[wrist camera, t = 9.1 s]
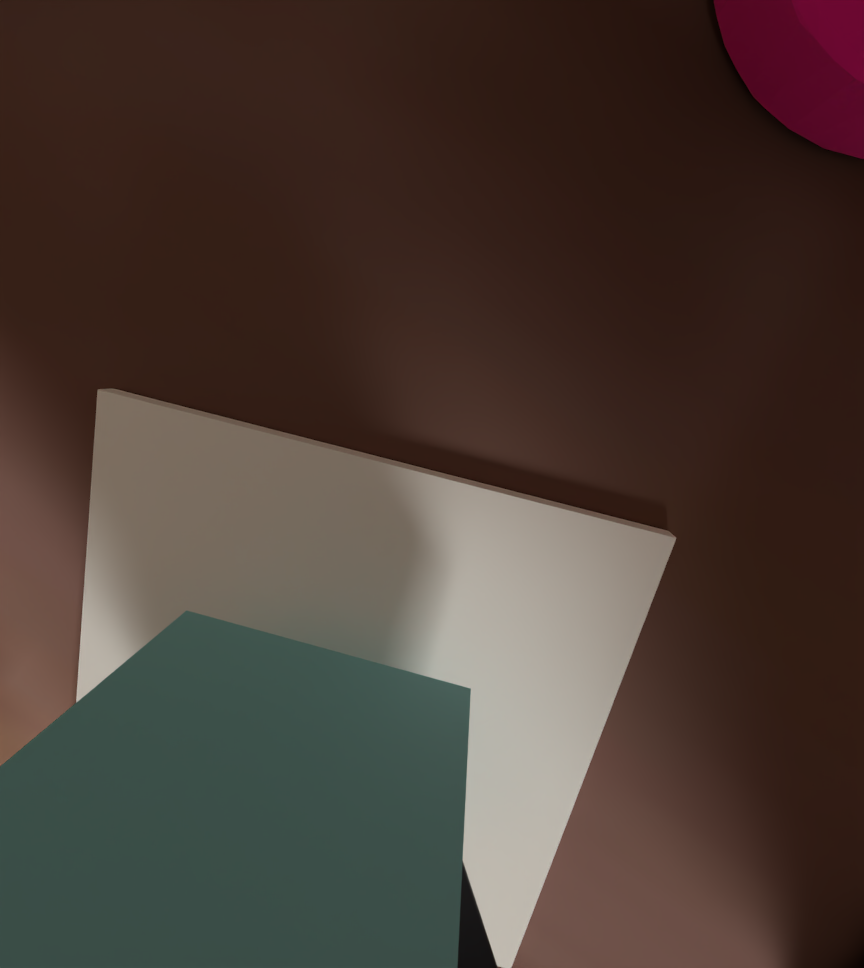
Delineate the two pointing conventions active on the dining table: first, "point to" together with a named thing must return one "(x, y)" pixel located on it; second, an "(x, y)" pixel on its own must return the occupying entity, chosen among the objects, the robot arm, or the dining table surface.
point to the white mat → (382, 599)
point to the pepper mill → (802, 64)
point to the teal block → (239, 813)
